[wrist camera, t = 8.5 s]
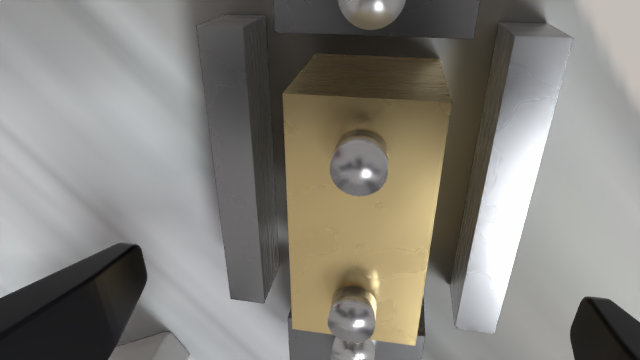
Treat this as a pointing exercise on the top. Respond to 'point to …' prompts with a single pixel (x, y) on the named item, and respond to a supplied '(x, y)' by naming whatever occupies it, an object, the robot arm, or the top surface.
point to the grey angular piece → (152, 349)
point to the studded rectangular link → (487, 170)
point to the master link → (363, 191)
